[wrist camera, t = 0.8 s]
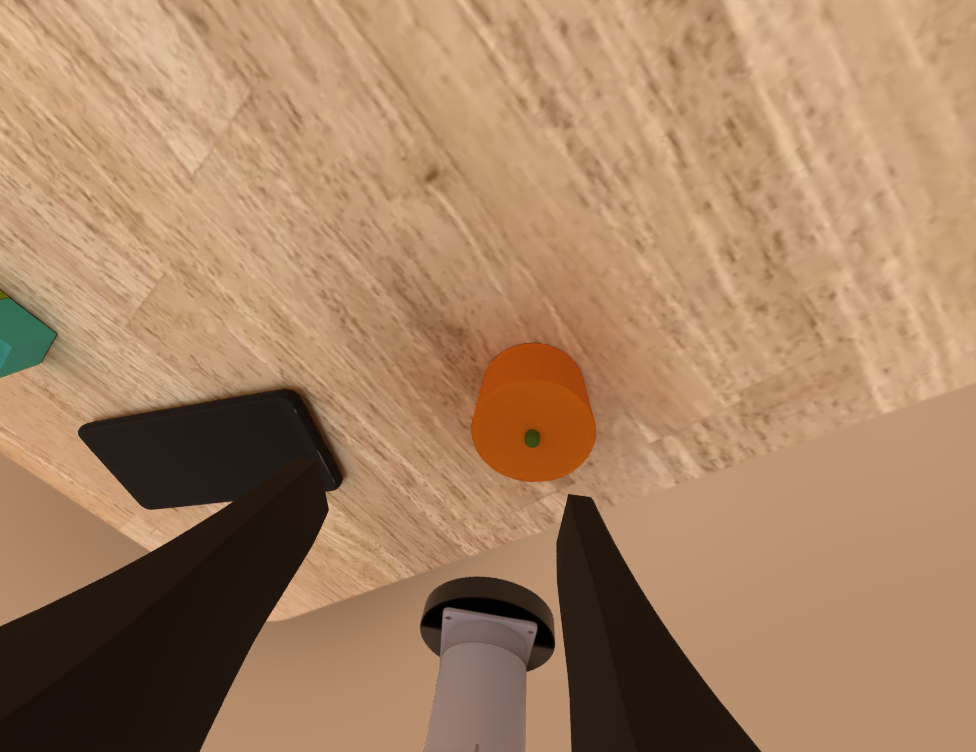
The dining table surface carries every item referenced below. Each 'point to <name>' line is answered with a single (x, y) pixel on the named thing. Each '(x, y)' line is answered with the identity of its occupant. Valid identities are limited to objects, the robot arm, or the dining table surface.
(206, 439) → the smartphone
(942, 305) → the dining table surface
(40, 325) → the chart
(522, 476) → the mandarin
